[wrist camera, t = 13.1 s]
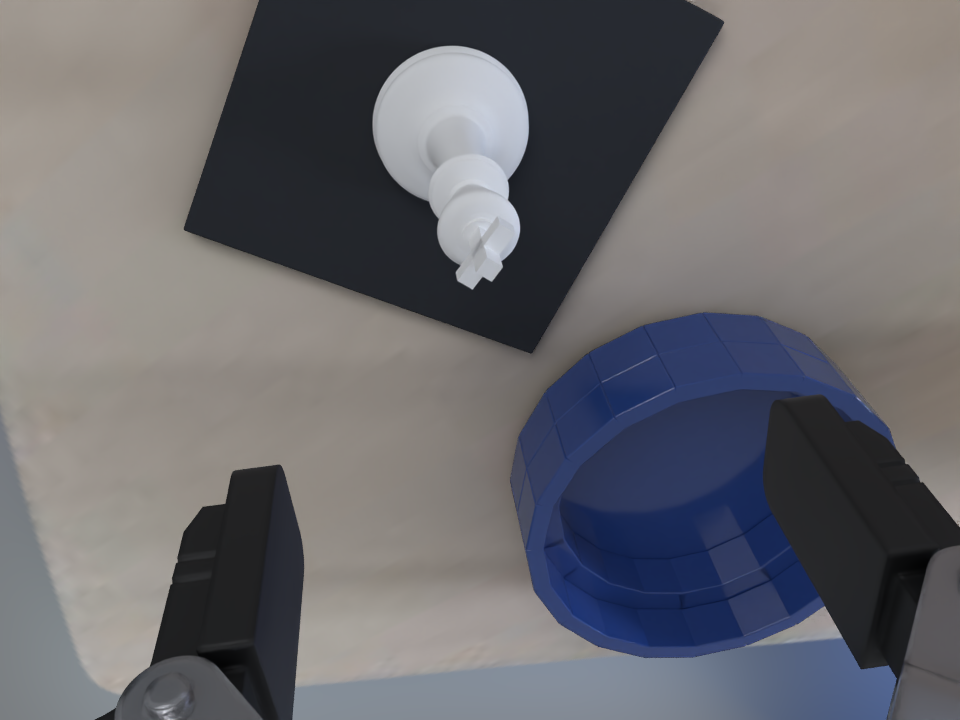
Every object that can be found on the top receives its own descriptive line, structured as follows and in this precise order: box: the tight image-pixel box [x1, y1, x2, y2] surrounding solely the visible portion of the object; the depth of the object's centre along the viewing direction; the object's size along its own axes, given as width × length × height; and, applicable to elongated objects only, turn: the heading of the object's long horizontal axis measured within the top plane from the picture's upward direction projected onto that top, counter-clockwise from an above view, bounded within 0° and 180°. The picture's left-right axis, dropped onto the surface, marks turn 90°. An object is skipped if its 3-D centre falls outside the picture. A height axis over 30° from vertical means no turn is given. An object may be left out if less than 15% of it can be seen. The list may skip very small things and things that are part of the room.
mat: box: [184, 0, 724, 353], centre depth 28 cm, size 13×13×1 cm
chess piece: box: [373, 46, 529, 289], centre depth 24 cm, size 5×5×10 cm
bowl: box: [510, 312, 896, 658], centre depth 35 cm, size 14×14×4 cm
